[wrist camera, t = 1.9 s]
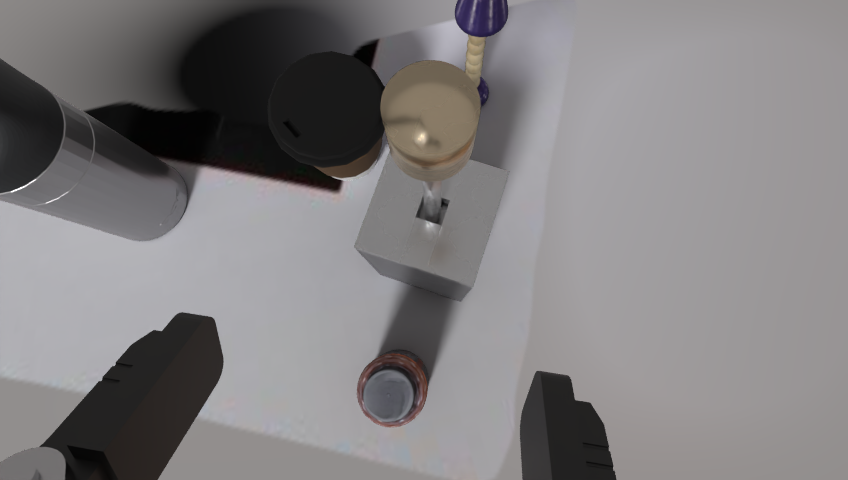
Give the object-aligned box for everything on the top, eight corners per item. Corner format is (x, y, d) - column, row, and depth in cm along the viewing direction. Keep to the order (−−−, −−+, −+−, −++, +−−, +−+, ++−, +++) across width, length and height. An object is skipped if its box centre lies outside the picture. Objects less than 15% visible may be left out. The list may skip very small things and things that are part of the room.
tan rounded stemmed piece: (378, 242, 35) (323, 155, 18) (406, 166, 36) (380, 13, 19) (460, 269, 35) (485, 206, 17) (485, 190, 36) (533, 56, 18)
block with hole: (380, 274, 49) (353, 247, 33) (407, 197, 50) (395, 136, 35) (460, 301, 48) (473, 286, 32) (486, 222, 49) (509, 171, 34)
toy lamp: (443, 81, 53) (446, -31, 37) (479, 65, 53) (498, -53, 37) (461, 116, 52) (473, 17, 36) (497, 99, 52) (526, -6, 36)
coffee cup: (343, 221, 50) (314, 186, 38) (282, 151, 52) (237, 97, 40) (418, 158, 51) (413, 106, 39) (356, 92, 53) (334, 23, 41)
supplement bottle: (364, 357, 47) (342, 365, 36) (420, 342, 47) (415, 346, 36) (377, 417, 46) (359, 444, 35) (435, 401, 46) (435, 423, 35)
